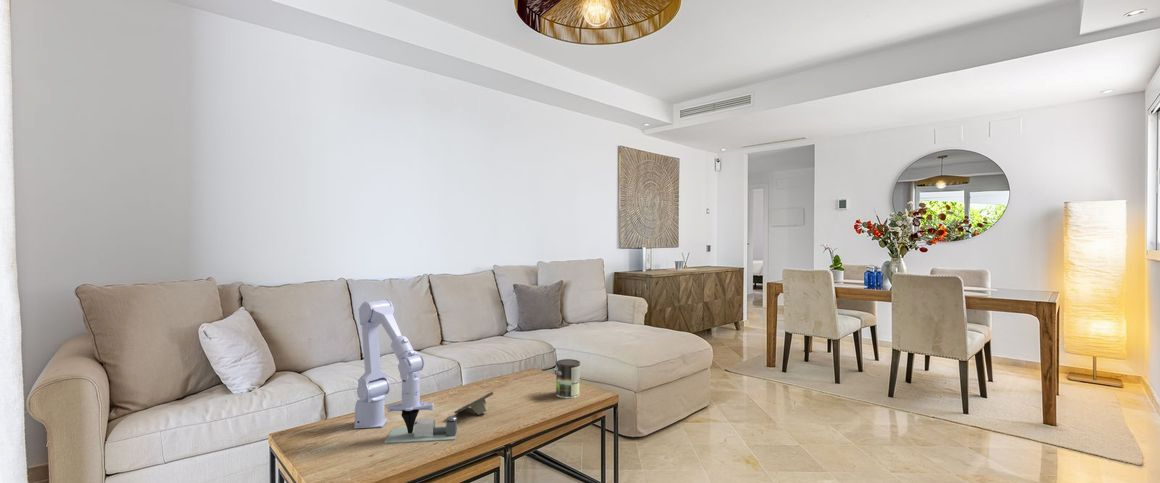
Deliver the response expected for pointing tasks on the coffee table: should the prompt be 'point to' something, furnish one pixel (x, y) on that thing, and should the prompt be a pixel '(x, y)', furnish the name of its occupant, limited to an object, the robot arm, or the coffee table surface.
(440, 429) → the coupler
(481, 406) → the grey slanted panel
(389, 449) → the coffee table surface
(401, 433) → the mat
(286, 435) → the coffee table surface
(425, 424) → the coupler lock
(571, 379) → the coffee can
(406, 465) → the coffee table surface
